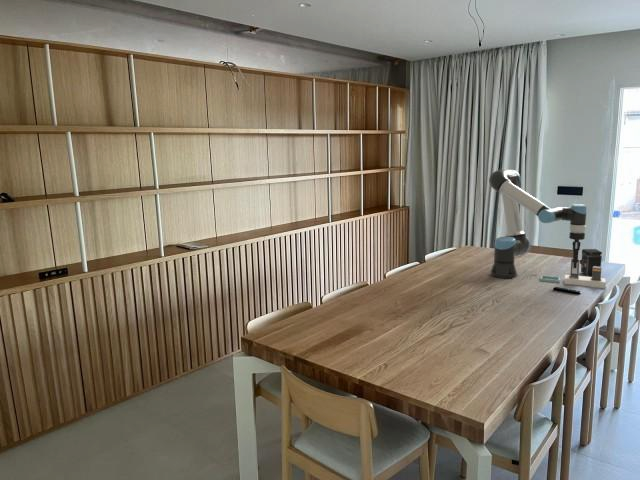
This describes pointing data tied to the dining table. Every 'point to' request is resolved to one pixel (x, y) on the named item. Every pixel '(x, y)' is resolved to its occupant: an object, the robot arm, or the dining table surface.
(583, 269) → the camera
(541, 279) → the tray
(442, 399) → the dining table surface
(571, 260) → the plug
